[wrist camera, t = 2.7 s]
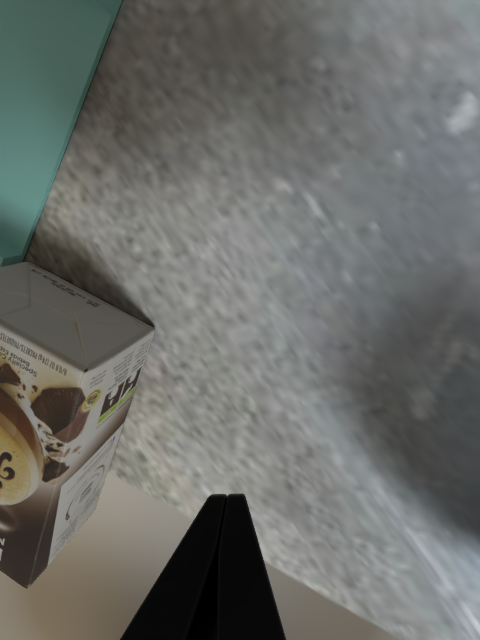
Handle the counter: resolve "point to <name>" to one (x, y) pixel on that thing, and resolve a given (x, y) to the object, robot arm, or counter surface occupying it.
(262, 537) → the counter surface
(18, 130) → the tray
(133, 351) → the coffee box
